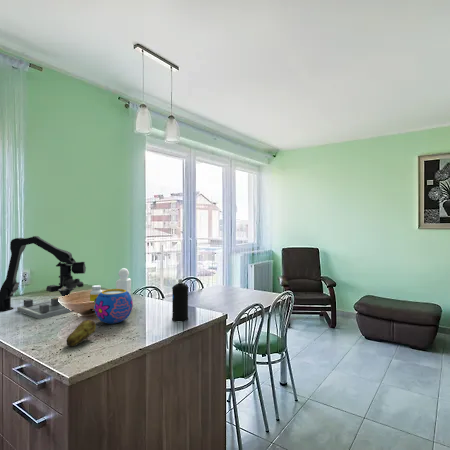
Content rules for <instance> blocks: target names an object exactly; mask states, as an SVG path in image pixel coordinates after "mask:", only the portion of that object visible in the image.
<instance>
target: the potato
mask: <svg viewBox="0 0 450 450" xmlns="http://www.w3.org/2000/svg"><path fill="white" fill-rule="evenodd" d="M96 328H97V323H96V322H95V321H94V320H93V319H92V320H91V319H85V320H83V321H82V322H81V323H80V324H79V325H77V326H76V328H75V329H73V331H72V332H71V333H70V334H69V335H68V336H67V338H66V345H67V346H68V347H71V348H72V347H75V346H77V345H79V344H80V343H83V342H84V341H86V340H87V339H88V337H90V336H91V335H92V334H94V333H95V332H96Z"/></svg>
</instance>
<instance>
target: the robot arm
mask: <svg viewBox="0 0 450 450" xmlns="http://www.w3.org/2000/svg"><path fill="white" fill-rule="evenodd" d="M33 244H34V245H35V246H37V247H38V248H41V249H42V250H45V251H46V252H47V253H49V254H52V255H53V257H55V258H56V259H57V260H58V261H59V262H58V263H57V264H56V265H55V267H59V275H58V278H59V283H58V285H57V284H50V285H49V284H48V285H47V286H46V288H45V289H46V290H45V291H46V292H50V293H53V292H54V293H55V292H59V294H60V295H61V297H62V296H65V295H68V294H69V295H70V293H71V292H72V291H73V290H75V288H83V287H84V282H83V281H80V280H81V279H80V278H75V279H74V277H73V275H72V274H74V275H77V274H81V275H83V274H86V269H87V267H86V261H76V260H75V259H74V257H73V254H72V253H71V252H70V251H67V250H65V249H61V248H59V247H56V246H55V245H53V244H51V243H50V242H48V241H46V240H44V239H43V238H41V237H40V236H38V235H35V236H34V235H33V236H30V237H26V238H25V237H24V238H23V237H17V238H16V237H15V238H13V239H11V241H10V247H9V249H10V254H11V255H10V259H9V264H8V268H7V273H6V278H5V280H4V281H3V283H2V284H1V287H0V312H4V311H8V310H13V309H14V307H13V306H11V305H12V304H11V303H12V301H11V300H12V297H13V296H14V294H15V293H16V292H17V290H19V285H20V282H17V275H18V272H19V266H20V261H21V256H22V254H23V253H24V251H25V249H26V248H27V246H28V245H33Z"/></svg>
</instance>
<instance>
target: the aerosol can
mask: <svg viewBox="0 0 450 450" xmlns="http://www.w3.org/2000/svg"><path fill="white" fill-rule="evenodd" d="M171 289H172V290H171V291H172V294H171V295H172V298H171V299H172V313H171V315H172V317H171V320H172V321H173V320H174V322H176V321H182V322H186V321H188V320H189V289H190V288H189V286H188V285H187V284H186V283H184V282H183V278H178V283H176V284H174V285H173V286H172V287H171ZM185 320H186V321H185Z"/></svg>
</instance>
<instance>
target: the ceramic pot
mask: <svg viewBox="0 0 450 450" xmlns="http://www.w3.org/2000/svg"><path fill="white" fill-rule="evenodd" d="M94 304H95V305H94V309H95V310H94V313H95V315H96V317H97V319H98V321H100V322H103V323H105V324H111V325H113V324H118V323H121V322H123V321H125V320H127V319H128V317H129V316H130V315H131V312H132V310H133V307H134V305H133V304H134V302H133V298H132V294H131V295H130V294H129V292H128V291H126V290H124V289H116V288H109V289H105V290H102V292H101V293H100V294H99V295H98V296H97V298H96V299H95V301H94Z"/></svg>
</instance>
